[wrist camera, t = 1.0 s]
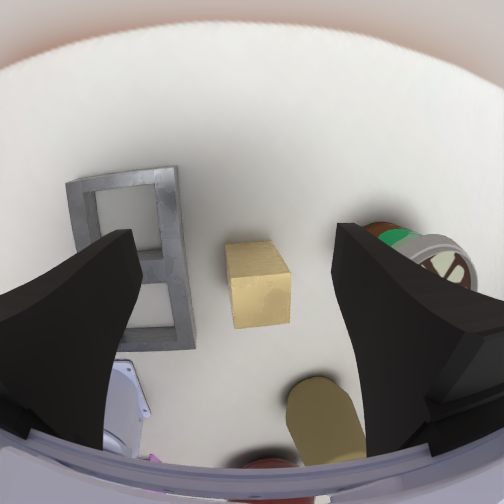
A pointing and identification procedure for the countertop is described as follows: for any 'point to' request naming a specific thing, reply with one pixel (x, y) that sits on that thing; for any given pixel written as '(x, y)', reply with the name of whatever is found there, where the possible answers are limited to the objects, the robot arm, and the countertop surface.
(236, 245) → the light brown wooden block
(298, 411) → the squeeze bottle
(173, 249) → the steel window frame
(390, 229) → the food container
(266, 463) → the round-bottom flask
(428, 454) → the robot arm
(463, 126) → the countertop surface
